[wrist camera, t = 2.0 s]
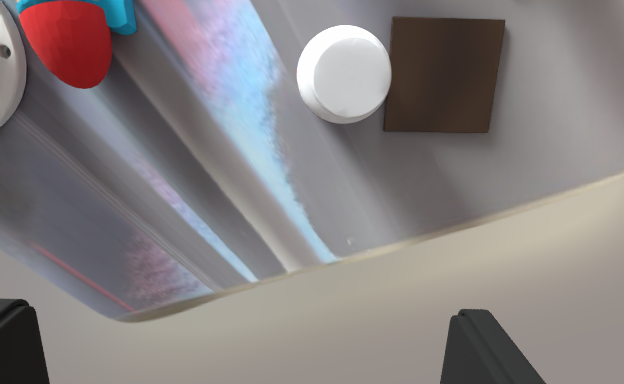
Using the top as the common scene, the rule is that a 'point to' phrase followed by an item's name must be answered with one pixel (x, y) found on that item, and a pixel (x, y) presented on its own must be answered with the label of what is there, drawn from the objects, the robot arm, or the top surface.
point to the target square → (442, 74)
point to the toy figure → (76, 35)
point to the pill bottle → (344, 74)
